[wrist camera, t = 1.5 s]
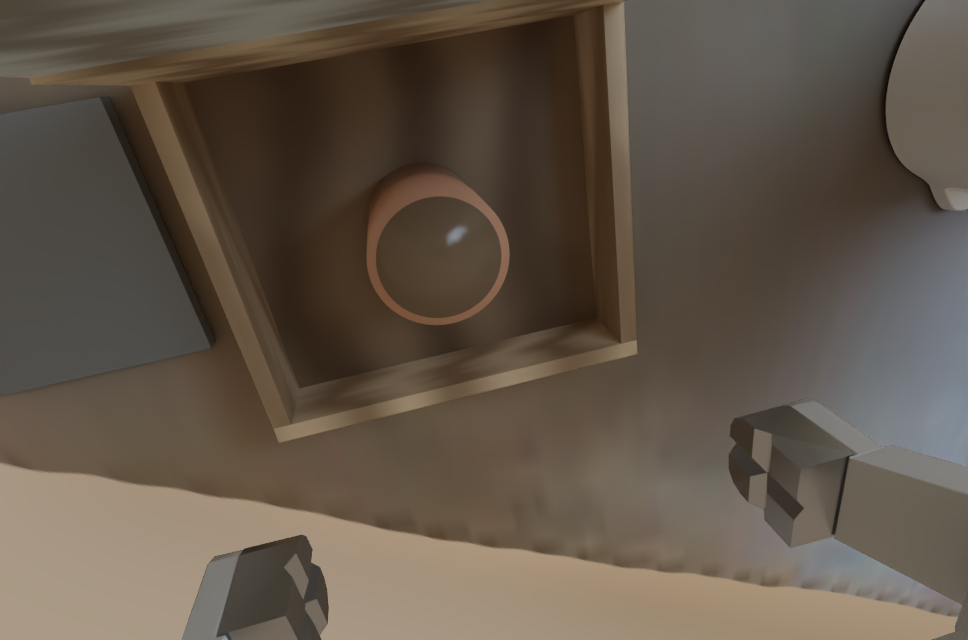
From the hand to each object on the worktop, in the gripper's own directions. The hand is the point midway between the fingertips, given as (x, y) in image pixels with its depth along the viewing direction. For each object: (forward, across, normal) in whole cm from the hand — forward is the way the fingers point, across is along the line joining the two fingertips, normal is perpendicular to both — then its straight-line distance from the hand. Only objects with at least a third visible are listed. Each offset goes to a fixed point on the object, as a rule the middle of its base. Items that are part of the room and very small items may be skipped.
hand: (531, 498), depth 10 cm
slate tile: (+24, +20, -2) cm, 31 cm away
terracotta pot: (+23, 0, 0) cm, 23 cm away
